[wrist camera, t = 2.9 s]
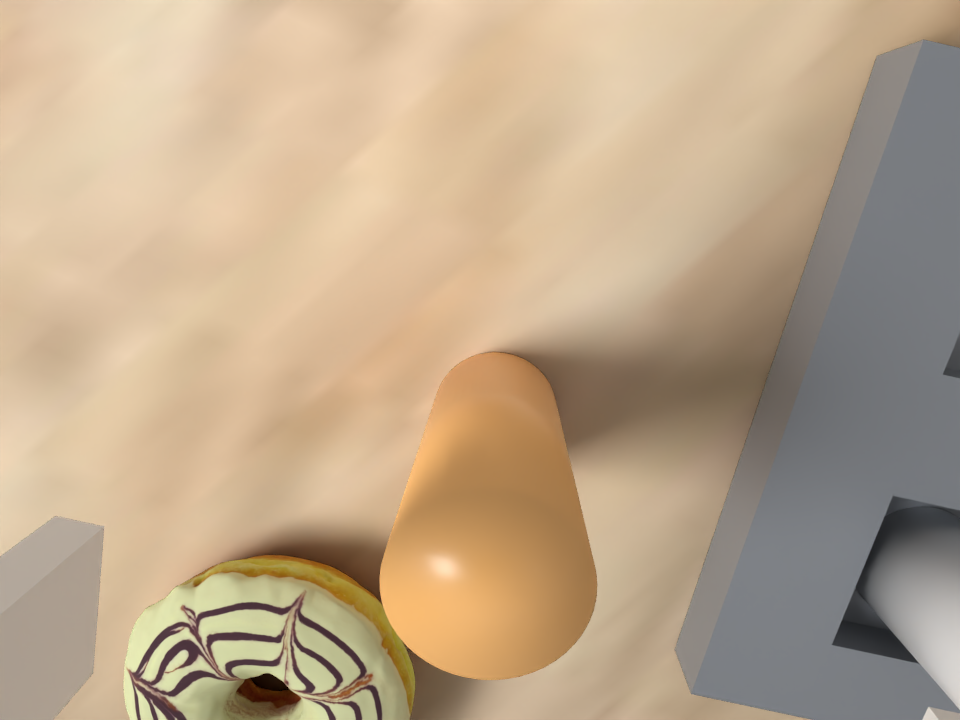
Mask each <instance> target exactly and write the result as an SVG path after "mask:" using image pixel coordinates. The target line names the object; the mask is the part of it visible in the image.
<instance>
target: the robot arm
mask: <svg viewBox="0 0 960 720" xmlns="http://www.w3.org/2000/svg"><path fill="white" fill-rule="evenodd" d="M103 536H104V526H99V525H95V524H90V523H86V522H81V521H77V520H72V519H67V518H63V517H58V516H55V517H53V518H52V519H51V520H49V521H48V522H47V523H45V524H44V525H42V526H41V527H40V528H38V529H37V530H36V531H34V532H33V533H32V534H30V535H29V536H27V537H26V538H25V539H23V540H22V541H21V542H19V543H18V544H17V545H15V546H14V547H12V548H11V549H10V550H8V551H7V552H6V553H4V554H3V555H2V556H0V720H54V718H55V717H56V716H57V715H58V714H59V713H60V711H61V710H62V709H63V708H64V707H65V706H66V704H67V703H68V702H69V701H70V700H71V698H72V697H73V696H74V695H75V694H76V693H77V691H78V690H79V689H80V688H81V687H82V686H83V684H84V683H85V682H86V681H87V680H88V679H89V677H90V676H91V675H92V674H93V669H94V656H95V642H96V629H97V616H98V603H99V589H100V576H101V563H102V550H103ZM922 720H960V713H955V712H950V711H946V710H941V709H937V708H932V707H928V709H927V711H926V713H925V715H924V717H923V719H922Z"/></svg>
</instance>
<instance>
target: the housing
mask: <svg viewBox="0 0 960 720" xmlns="http://www.w3.org/2000/svg"><path fill="white" fill-rule="evenodd" d="M911 507H933V508H938V509H941V510H944V511H947V512H949V513H951V514H953V515H954V516H956V517H958V518H959V519H960V48H957V47H953V46H949V45H945V44H940V43H936V42H932V41H927V40H921V41H918V42H915V43H913V44H910V45H907V46H904V47H901V48H898V49H895V50H893V51H890V52H887V53H884V54H881V55H878V56H877V58H876V61H875V64H874V66H873V69H872V72H871V75H870V78H869V81H868V84H867V87H866V90H865V93H864V96H863V99H862V102H861V105H860V108H859V110H858V113H857V116H856V119H855V122H854V125H853V128H852V131H851V134H850V137H849V140H848V143H847V146H846V149H845V152H844V154H843V157H842V160H841V163H840V166H839V169H838V172H837V175H836V178H835V181H834V184H833V187H832V190H831V193H830V196H829V198H828V201H827V204H826V207H825V210H824V213H823V216H822V219H821V222H820V225H819V228H818V231H817V234H816V237H815V240H814V242H813V245H812V248H811V251H810V254H809V257H808V260H807V263H806V266H805V269H804V272H803V275H802V278H801V281H800V284H799V286H798V289H797V292H796V295H795V298H794V301H793V304H792V307H791V310H790V313H789V316H788V319H787V322H786V325H785V328H784V330H783V333H782V336H781V339H780V342H779V345H778V348H777V351H776V354H775V357H774V360H773V363H772V366H771V369H770V371H769V374H768V377H767V380H766V383H765V386H764V389H763V392H762V395H761V398H760V401H759V404H758V407H757V410H756V413H755V415H754V418H753V421H752V424H751V427H750V430H749V433H748V436H747V439H746V442H745V445H744V448H743V451H742V454H741V457H740V459H739V462H738V465H737V468H736V471H735V474H734V477H733V480H732V483H731V486H730V489H729V492H728V495H727V498H726V501H725V503H724V506H723V509H722V512H721V515H720V518H719V521H718V524H717V527H716V530H715V533H714V536H713V539H712V542H711V545H710V547H709V550H708V553H707V556H706V559H705V562H704V565H703V568H702V571H701V574H700V577H699V580H698V583H697V586H696V589H695V591H694V594H693V597H692V600H691V603H690V606H689V609H688V612H687V615H686V618H685V621H684V624H683V627H682V630H681V633H680V635H679V638H678V641H677V644H676V647H675V651H676V654H677V657H678V660H679V662H680V665H681V668H682V670H683V673H684V676H685V679H686V681H687V684H688V687H689V690H690V692H691V694H694V695H698V696H703V697H708V698H713V699H717V700H722V701H727V702H732V703H736V704H741V705H746V706H750V707H755V708H760V709H765V710H769V711H774V712H779V713H784V714H788V715H793V716H798V717H802V718H807V719H812V720H922V719H923V717H924V715H925V713H926V711H927V709H928V707H932V708H937V709H941V710H946V711H950V712H955V713H960V710H959V708H958V707H957V706H956V705H955V704H954V703H953V701H952V700H951V699H950V698H949V697H948V696H947V695H946V693H945V692H944V691H943V690H942V689H941V688H940V686H939V685H938V684H937V683H936V682H935V681H934V680H933V678H932V677H931V676H930V675H929V674H928V673H927V672H926V670H925V669H924V668H923V667H922V666H921V665H920V663H919V662H918V661H917V660H916V659H915V658H914V657H913V655H912V654H911V653H910V652H909V651H908V650H907V648H906V647H905V646H904V645H903V644H902V643H901V642H900V640H899V639H898V638H897V637H896V636H895V635H894V634H893V632H892V631H891V630H890V629H889V628H888V627H887V625H886V624H885V623H884V622H883V621H882V620H881V619H880V617H879V616H878V615H877V614H876V613H875V612H874V610H873V609H872V608H871V607H870V606H869V605H868V604H867V602H866V601H865V600H864V599H863V598H862V597H861V596H860V594H859V593H858V591H857V590H856V585H857V582H858V580H859V577H860V575H861V572H862V570H863V568H864V565H865V563H866V560H867V558H868V555H869V553H870V550H871V548H872V546H873V543H874V541H875V538H876V536H877V533H878V531H879V528H880V526H881V524H882V521H883V519H884V517H885V516H886V515H888V514H891V513H893V512H895V511H898V510H902V509H905V508H911Z"/></svg>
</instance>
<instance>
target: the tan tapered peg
mask: <svg viewBox="0 0 960 720" xmlns="http://www.w3.org/2000/svg"><path fill="white" fill-rule="evenodd" d="M380 594H381V600H382V604H383V607H384V610H385V613H386V616H387V618H388V620H389V622H390V624H391V626H392V627H393V629H394V631H395V632H396V634H397V635H398V637H399V638H400V639H401V640H402V641H403V642H404V643H405V645H406V646H407V647H408V648H409V649H411V650H412V651H413V652H414V653H415V654H416V655H417V656H419V657H420V658H422V659H423V660H425V661H426V662H427V663H429V664H431V665H433V666H435V667H437V668H439V669H441V670H443V671H446V672H449V673H451V674H454V675H458V676H462V677H466V678H472V679H479V680H500V679H509V678H514V677H520V676H523V675H526V674H529V673H533V672H535V671H537V670H539V669H542V668H544V667H546V666H547V665H549V664H551V663H552V662H554V661H556V660H557V659H558V658H560V657H561V656H562V655H564V654H565V653H566V652H567V651H568V650H569V649H570V648H571V647H572V646H573V645H574V644H575V643H576V642H577V640H578V639H579V638H580V636H581V635H582V634H583V632H584V630H585V629H586V627H587V625H588V623H589V621H590V618H591V616H592V613H593V611H594V606H595V602H596V596H597V576H596V569H595V565H594V561H593V556H592V552H591V548H590V544H589V539H588V535H587V531H586V527H585V523H584V518H583V514H582V510H581V506H580V501H579V497H578V493H577V489H576V484H575V480H574V476H573V472H572V468H571V463H570V459H569V455H568V451H567V446H566V442H565V438H564V434H563V430H562V425H561V421H560V417H559V413H558V408H557V404H556V400H555V396H554V393H553V390H552V387H551V385H550V384H549V382H548V380H547V379H546V377H545V376H544V375H543V373H542V372H541V371H540V370H539V369H538V368H536V367H535V366H534V365H533V364H531V363H530V362H528V361H526V360H525V359H523V358H520V357H518V356H515V355H512V354H508V353H501V352H490V353H483V354H478V355H475V356H472V357H470V358H468V359H466V360H464V361H462V362H460V363H459V364H458V365H456V366H455V367H454V368H453V369H452V370H451V371H450V372H449V373H448V374H447V375H446V377H445V378H444V380H443V381H442V383H441V385H440V387H439V389H438V391H437V394H436V398H435V401H434V404H433V407H432V410H431V413H430V416H429V419H428V422H427V425H426V428H425V431H424V434H423V437H422V440H421V443H420V446H419V449H418V452H417V455H416V458H415V461H414V464H413V467H412V471H411V474H410V477H409V480H408V483H407V486H406V489H405V492H404V495H403V498H402V501H401V504H400V507H399V510H398V513H397V516H396V519H395V522H394V525H393V528H392V531H391V534H390V537H389V540H388V544H387V547H386V550H385V553H384V556H383V560H382V563H381V570H380Z"/></svg>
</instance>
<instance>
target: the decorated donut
mask: <svg viewBox="0 0 960 720" xmlns="http://www.w3.org/2000/svg"><path fill="white" fill-rule="evenodd" d="M264 673H270V674H272V675H274V676H275V677H277V678H278V679H280V680H281V681H283V682H284V683H285V684H286V686H287V687H288V688H289V689H290V690H286V691H284V690H283V691H281V692H280V691H271V690H267V689H263V688H260V687H258V686H257V685H255V684H254V683H253V682H252V680H251V679H250V678H251V677H256V676H260V675H262V674H264ZM123 685H124V689H123V690H124V697H125V704H126V709H127V712H128V715H129V717H130V720H410V716H411V712H412V707H413V700H414V693H415V675H414V670H413V666H412V663H411V660H410V657H409V656H408V652H407V650H406V647H405V645H404V643H403V641H402V640H401V639H400V638H399V637H398V635H397V634H396V632H395V631H394V629H393V627H392V626H391V624H390V622H389V620H388V618H387V616H386V613H385V610H384V607H383V606H382V604H381V603H380V602H379V601H378V599H377V598H376V597H375V595H373V594H372V593H371V592H370V591H368V590H367V589H365V588H363V587H362V586H361V585H359V584H358V583H357V582H356V581H354V580H353V579H352V578H351V577H349V576H347V575H346V574H344V573H342V572H341V571H339V570H337V569H335V568H333V567H331V566H328V565H325V564H322V563H318V562H315V561H311V560H305V559H302V558H297V557H291V556H283V555H261V556H255V557H250V558H247V559H241V560H234V561H228V562H223V563H220V564H218V565H215V566H212V567H210V568H209V569H207V570H205V571H204V572H202V573H200V574H198V575H196V576H195V577H193V578H191V579H190V580H188V581H186V582H184V583H183V584H181V585H179V586H176V587H175V588H174V589H173V590H172V591H171V592H170V594H169V595H168V596H167V597H166V598H165V599H162V600H160V601H159V602H157V603H156V604H154V605H151V606H149V607H148V608H146V609H145V610H144V612H143V613H142V614H141V616H140V617H139V618H138V619H137V621H136V623H135V625H134V628H133V630H132V633H131V635H130V638H129V644H128V651H127V655H126V659H125V667H124V681H123Z"/></svg>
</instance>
